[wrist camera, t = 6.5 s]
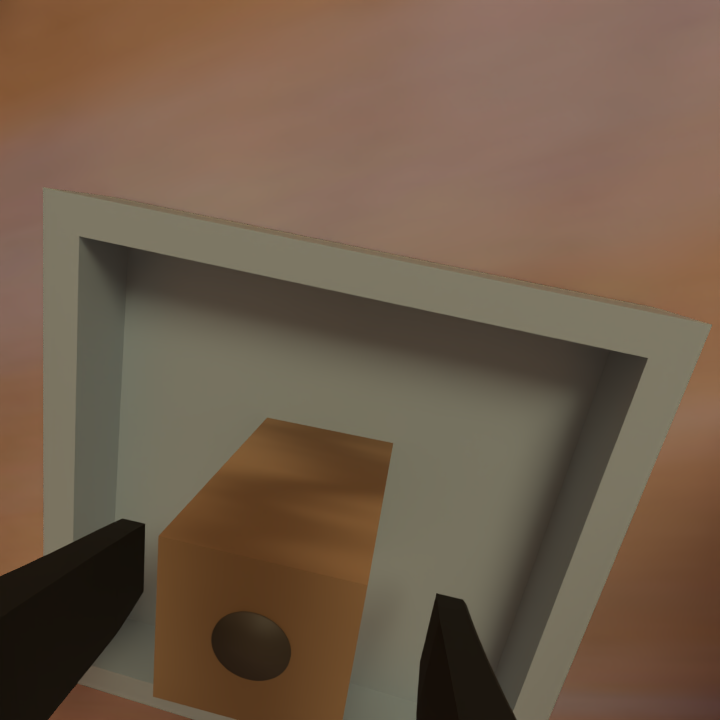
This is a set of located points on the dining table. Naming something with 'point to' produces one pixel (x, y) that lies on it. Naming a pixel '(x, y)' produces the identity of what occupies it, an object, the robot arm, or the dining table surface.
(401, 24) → the dining table surface
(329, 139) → the dining table surface
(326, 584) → the walnut block
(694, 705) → the dining table surface
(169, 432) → the tray
